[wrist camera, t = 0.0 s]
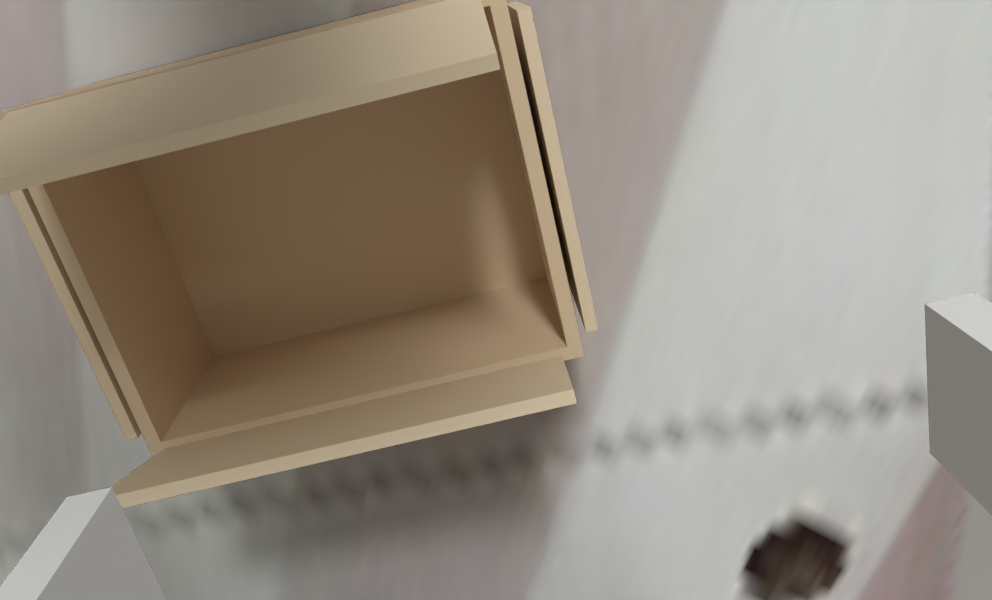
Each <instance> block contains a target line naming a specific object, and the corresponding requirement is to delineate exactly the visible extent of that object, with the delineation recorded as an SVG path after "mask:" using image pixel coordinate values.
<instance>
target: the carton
mask: <svg viewBox="0 0 992 600" xmlns="http://www.w3.org/2000/svg"><path fill="white" fill-rule="evenodd" d="M442 1H446V0H417V1H413V2H409V3H405V4H401V5H397V6H393V7H389V8H385V9H382V10H378V11H374V12H370V13H366V14H362V15H358V16H354V17H350V18H346V19H343V20H339V21H335V22H331V23H327V24H323V25H319V26H315V27H311V28H307V29H303V30H300V31H296V32H292V33H288V34H284V35H280V36H276V37H272V38H268V39H264V40H260V41H257V42H253V43H249V44H245V45H241V46H237V47H233V48H229V49H225V50H221V51H218V52H214V53H210V54H206V55H202V56H198V57H194V58H190V59H186V60H182V61H178V62H175V63H171V64H167V65H163V66H159V67H155V68H151V69H147V70H143V71H139V72H136V73H132V74H128V75H124V76H120V77H116V78H112V79H108V80H104V81H100V82H96V83H93V84H90V85H86V86H83V87H80V88H77V89H73V90H70V91H67V92H63V93H60V94H57V95H54V96H50V97H47V98H44V99H41V100H37V101H34V102H31V103H27V104H24V105H21V106H18V107H14V108H11V109H8V110H5V111H1V112H0V121H1V120H2V119H3V117H4V116H5V115H6V114H7V113H8V112H12V111H16V110H20V109H24V108H28V107H32V106H35V105H39V104H43V103H47V102H51V101H55V100H59V99H63V98H67V97H71V96H75V95H79V94H82V93H86V92H90V91H94V90H98V89H102V88H106V87H110V86H114V85H118V84H122V83H125V82H129V81H133V80H137V79H141V78H145V77H149V76H153V75H157V74H161V73H165V72H169V71H172V70H176V69H180V68H184V67H188V66H192V65H196V64H200V63H204V62H208V61H212V60H215V59H219V58H223V57H227V56H231V55H235V54H239V53H243V52H247V51H251V50H255V49H258V48H262V47H266V46H270V45H274V44H278V43H282V42H286V41H290V40H294V39H298V38H302V37H305V36H309V35H313V34H317V33H321V32H325V31H329V30H333V29H337V28H341V27H345V26H348V25H352V24H356V23H360V22H364V21H368V20H372V19H376V18H380V17H384V16H388V15H391V14H395V13H399V12H403V11H407V10H411V9H415V8H419V7H423V6H427V5H431V4H435V3H438V2H442ZM481 2H482V5H483V8H484V12H485V15H486V18H487V22H488V25H489V28H490V32H491V35H492V39H493V42H494V45H495V49H496V52H497V56H498V61H499V65H500V70H496V71H492V72H488V73H484V74H480V75H476V76H472V77H468V78H464V79H460V80H456V81H452V82H448V83H444V84H440V85H436V86H432V87H428V88H424V89H420V90H416V91H412V92H408V93H404V94H400V95H396V96H392V97H388V98H384V99H380V100H376V101H372V102H368V103H364V104H360V105H356V106H352V107H348V108H344V109H340V110H336V111H332V112H329V113H325V114H321V115H317V116H313V117H309V118H305V119H301V120H297V121H293V122H289V123H285V124H281V125H277V126H273V127H269V128H265V129H261V130H257V131H253V132H249V133H245V134H241V135H237V136H233V137H229V138H225V139H221V140H217V141H213V142H209V143H205V144H201V145H197V146H193V147H189V148H185V149H181V150H177V151H173V152H169V153H165V154H161V155H157V156H153V157H149V158H145V159H141V160H137V161H133V162H129V163H125V164H121V165H117V166H113V167H109V168H105V169H101V170H97V171H93V172H89V173H85V174H81V175H77V176H73V177H69V178H66V179H62V180H58V181H54V182H50V183H46V184H42V185H38V186H34V187H30V188H26V189H22V190H18V191H14V192H10V193H9V194H10V196H11V198H12V200H13V203H14V205H15V207H16V209H17V211H18V213H19V215H20V217H21V219H22V222H23V224H24V226H25V228H26V230H27V232H28V234H29V236H30V238H31V240H32V243H33V245H34V247H35V249H36V251H37V253H38V255H39V257H40V259H41V261H42V264H43V266H44V268H45V270H46V272H47V274H48V276H49V278H50V280H51V283H52V285H53V287H54V289H55V291H56V293H57V295H58V297H59V299H60V301H61V304H62V306H63V308H64V310H65V312H66V314H67V316H68V318H69V320H70V322H71V325H72V327H73V329H74V331H75V333H76V335H77V337H78V339H79V341H80V344H81V346H82V348H83V350H84V352H85V354H86V356H87V358H88V360H89V362H90V365H91V367H92V369H93V371H94V373H95V375H96V377H97V379H98V381H99V383H100V386H101V388H102V390H103V392H104V394H105V396H106V398H107V400H108V402H109V405H110V407H111V409H112V411H113V413H114V415H115V417H116V419H117V421H118V423H119V426H120V428H121V430H122V432H123V434H124V436H125V438H126V440H131V439H135V438H138V437H139V435H140V434H141V433H142V435H143V437H144V439H145V442H146V444H147V446H148V448H149V450H150V452H151V454H152V457H153V456H154V455H156V454H157V453H158V452H160V451H161V450H163V449H164V448H169V447H173V446H177V445H181V444H186V443H190V442H194V441H199V440H203V439H207V438H211V437H216V436H220V435H224V434H228V433H233V432H237V431H241V430H246V429H250V428H254V427H258V426H263V425H267V424H271V423H275V422H280V421H284V420H288V419H293V418H297V417H301V416H305V415H310V414H314V413H318V412H322V411H327V410H331V409H335V408H340V407H344V406H348V405H352V404H357V403H361V402H365V401H369V400H374V399H378V398H382V397H387V396H391V395H395V394H399V393H404V392H408V391H412V390H416V389H421V388H425V387H429V386H434V385H438V384H442V383H446V382H451V381H455V380H459V379H463V378H468V377H472V376H476V375H481V374H485V373H489V372H493V371H498V370H502V369H506V368H510V367H515V366H519V365H523V364H528V363H532V362H536V361H540V360H545V359H549V358H553V357H557V356H563V359H564V361H566V360H570V359H575V358H579V357H583V356H584V353H583V348H582V344H581V339H580V335H579V330H578V325H577V321H576V316H575V312H574V307H573V303H572V298H571V294H570V289H571V292H572V294H573V297H574V300H575V303H576V305H577V308H578V311H579V314H580V316H581V319H582V322H583V325H584V328H585V330H586V333H587V332H591V331H595V330H598V327H597V322H596V317H595V313H594V308H593V303H592V298H591V294H590V289H589V284H588V279H587V274H586V270H585V265H584V260H583V255H582V251H581V246H580V241H579V236H578V231H577V227H576V222H575V217H574V212H573V207H572V203H571V198H570V193H569V188H568V184H567V179H566V174H565V169H564V164H563V160H562V155H561V150H560V145H559V141H558V136H557V131H556V126H555V121H554V117H553V112H552V107H551V102H550V97H549V93H548V88H547V83H546V78H545V74H544V69H543V64H542V59H541V54H540V50H539V45H538V40H537V35H536V31H535V26H534V21H533V16H532V11H531V7H529V6H527V5H525V4H523V3H520V2H518V1H515V2H511V3H507V1H506V0H481ZM568 283H569V284H568ZM569 286H570V289H569Z"/></svg>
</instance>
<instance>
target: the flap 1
mask: <svg viewBox="0 0 992 600" xmlns="http://www.w3.org/2000/svg"><path fill="white" fill-rule="evenodd" d="M496 70H500V65H499V61H498V56H497V52H496V49H495V45H494V42H493V39H492V35H491V32H490V28H489V25H488V22H487V18H486V15H485V12H484V8H483V5H482V2H481V0H446V1H442V2H438V3H435V4H431V5H427V6H423V7H419V8H415V9H411V10H407V11H403V12H399V13H395V14H391V15H388V16H384V17H380V18H376V19H372V20H368V21H364V22H360V23H356V24H352V25H348V26H345V27H341V28H337V29H333V30H329V31H325V32H321V33H317V34H313V35H309V36H305V37H302V38H298V39H294V40H290V41H286V42H282V43H278V44H274V45H270V46H266V47H262V48H258V49H255V50H251V51H247V52H243V53H239V54H235V55H231V56H227V57H223V58H219V59H215V60H212V61H208V62H204V63H200V64H196V65H192V66H188V67H184V68H180V69H176V70H172V71H169V72H165V73H161V74H157V75H153V76H149V77H145V78H141V79H137V80H133V81H129V82H125V83H122V84H118V85H114V86H110V87H106V88H102V89H98V90H94V91H90V92H86V93H82V94H79V95H75V96H71V97H67V98H63V99H59V100H55V101H51V102H47V103H43V104H39V105H35V106H32V107H28V108H24V109H20V110H16V111H12V112H8V113H7V114H6V115H5V116H4V117H3V119H2V120H1V121H0V195H2V194H6V193H10V192H14V191H18V190H22V189H26V188H30V187H34V186H38V185H42V184H46V183H50V182H54V181H58V180H62V179H66V178H69V177H73V176H77V175H81V174H85V173H89V172H93V171H97V170H101V169H105V168H109V167H113V166H117V165H121V164H125V163H129V162H133V161H137V160H141V159H145V158H149V157H153V156H157V155H161V154H165V153H169V152H173V151H177V150H181V149H185V148H189V147H193V146H197V145H201V144H205V143H209V142H213V141H217V140H221V139H225V138H229V137H233V136H237V135H241V134H245V133H249V132H253V131H257V130H261V129H265V128H269V127H273V126H277V125H281V124H285V123H289V122H293V121H297V120H301V119H305V118H309V117H313V116H317V115H321V114H325V113H329V112H332V111H336V110H340V109H344V108H348V107H352V106H356V105H360V104H364V103H368V102H372V101H376V100H380V99H384V98H388V97H392V96H396V95H400V94H404V93H408V92H412V91H416V90H420V89H424V88H428V87H432V86H436V85H440V84H444V83H448V82H452V81H456V80H460V79H464V78H468V77H472V76H476V75H480V74H484V73H488V72H492V71H496Z"/></svg>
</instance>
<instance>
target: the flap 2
mask: <svg viewBox="0 0 992 600" xmlns="http://www.w3.org/2000/svg"><path fill="white" fill-rule="evenodd" d="M576 403H577V402H576V398H575V393H574V389H573V386H572V383H571V380H570V377H569V374H568V371H567V368H566V365H565V362H564V359H563V356H557V357H553V358H549V359H545V360H540V361H536V362H532V363H528V364H523V365H519V366H515V367H510V368H506V369H502V370H498V371H493V372H489V373H485V374H481V375H476V376H472V377H468V378H463V379H459V380H455V381H451V382H446V383H442V384H438V385H434V386H429V387H425V388H421V389H416V390H412V391H408V392H404V393H399V394H395V395H391V396H387V397H382V398H378V399H374V400H369V401H365V402H361V403H357V404H352V405H348V406H344V407H340V408H335V409H331V410H327V411H322V412H318V413H314V414H310V415H305V416H301V417H297V418H293V419H288V420H284V421H280V422H275V423H271V424H267V425H263V426H258V427H254V428H250V429H246V430H241V431H237V432H233V433H228V434H224V435H220V436H216V437H211V438H207V439H203V440H199V441H194V442H190V443H186V444H181V445H177V446H173V447H169V448H164V449H163V450H161V451H160V452H158V453H157V454H156V455H154V456H153V457H152V458H150V459H149V460H147V461H146V462H145V463H143V464H142V465H141V466H139V467H138V468H137V469H135V470H134V471H132V472H131V473H130V474H128V475H127V476H126V477H124V478H123V479H121V480H120V481H119V482H117V483H116V484H115V485H113V486H112V488H113V490H114V492H115V494H116V497H117V499H118V501H119V503H120V505H121V507H122V508H126V507H130V506H134V505H139V504H143V503H147V502H152V501H156V500H160V499H165V498H169V497H173V496H178V495H182V494H186V493H191V492H195V491H199V490H204V489H208V488H212V487H217V486H221V485H225V484H230V483H234V482H238V481H243V480H247V479H251V478H256V477H260V476H264V475H269V474H273V473H277V472H282V471H286V470H290V469H295V468H299V467H303V466H308V465H312V464H316V463H320V462H325V461H329V460H333V459H338V458H342V457H346V456H351V455H355V454H359V453H364V452H368V451H372V450H377V449H381V448H385V447H390V446H394V445H398V444H403V443H407V442H411V441H416V440H420V439H424V438H429V437H433V436H437V435H442V434H446V433H450V432H455V431H459V430H463V429H468V428H472V427H476V426H481V425H485V424H489V423H494V422H498V421H502V420H507V419H511V418H515V417H519V416H524V415H528V414H532V413H537V412H541V411H545V410H550V409H554V408H558V407H563V406H567V405H571V404H576Z"/></svg>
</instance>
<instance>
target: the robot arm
mask: <svg viewBox="0 0 992 600" xmlns="http://www.w3.org/2000/svg"><path fill="white" fill-rule="evenodd" d="M925 329H926V358H927V387H928V416H929V445H930V453H931V455H932V456H933V457H934V458H935V459H936V460H937V461H938V462H939V463H940V464H941V465H942V466H943V467H944V468H945V469H946V470H947V471H948V472H949V473H950V474H951V475H952V476H953V477H954V478H955V479H956V480H957V481H958V482H959V483H960V484H961V485H962V486H963V487H964V488H965V489H966V490H967V491H968V492H969V493H970V494H971V495H972V496H973V497H974V498H975V499H976V500H977V501H978V502H979V503H980V504H981V505H982V506H983V507H984V508H985V509H986V510H987V511H988V512H989V513H990V514H991V515H992V303H990V302H989V301H987V300H986V299H984V298H982V297H981V296H979V295H977V294H976V293H970V294H966V295H961V296H957V297H952V298H948V299H943V300H939V301H934V302H930V303H926V304H925ZM0 600H167V599H166V597H165V595H164V593H163V591H162V589H161V587H160V585H159V583H158V581H157V579H156V577H155V575H154V573H153V571H152V568H151V566H150V564H149V562H148V560H147V558H146V556H145V554H144V552H143V550H142V548H141V546H140V544H139V542H138V540H137V538H136V536H135V534H134V531H133V529H132V527H131V525H130V523H129V521H128V519H127V517H126V515H125V513H124V511H123V509H122V507H121V505H120V503H119V501H118V499H117V497H116V494H115V492H114V490H113V488H112V487H110V488H106V489H101V490H97V491H92V492H88V493H83V494H79V495H75V496H70V497H66V499H65V500H64V501H63V503H62V504H61V506H60V507H59V508H58V510H57V511H56V512H55V514H54V515H53V516H52V518H51V519H50V520H49V522H48V523H47V524H46V526H45V527H44V528H43V530H42V531H41V532H40V534H39V535H38V537H37V538H36V539H35V541H34V542H33V543H32V545H31V546H30V547H29V549H28V550H27V551H26V553H25V554H24V555H23V557H22V558H21V559H20V561H19V562H18V563H17V565H16V566H15V568H14V569H13V570H12V572H11V573H10V574H9V576H8V577H7V578H6V580H5V581H4V582H3V584H2V585H1V586H0Z"/></svg>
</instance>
